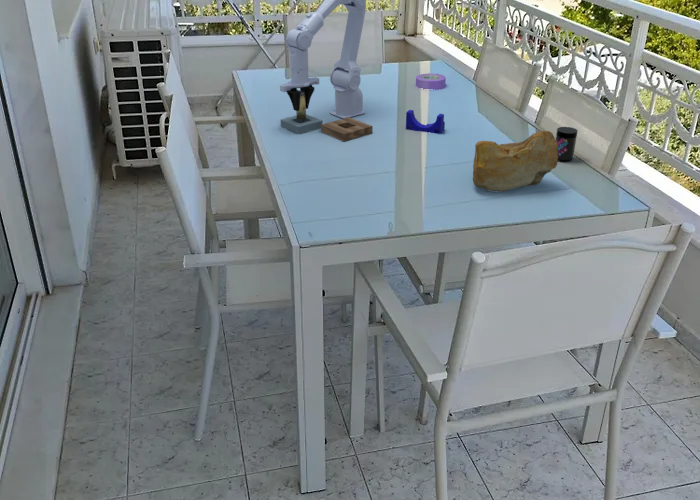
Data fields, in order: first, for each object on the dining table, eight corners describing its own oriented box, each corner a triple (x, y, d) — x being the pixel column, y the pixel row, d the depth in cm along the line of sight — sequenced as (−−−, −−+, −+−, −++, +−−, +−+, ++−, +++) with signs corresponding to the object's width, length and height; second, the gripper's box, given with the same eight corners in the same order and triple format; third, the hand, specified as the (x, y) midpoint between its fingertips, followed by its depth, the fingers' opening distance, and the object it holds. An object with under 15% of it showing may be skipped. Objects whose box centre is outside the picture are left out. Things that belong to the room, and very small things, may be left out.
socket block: (348, 124, 238) (348, 117, 237) (372, 133, 230) (372, 126, 229) (321, 132, 231) (320, 124, 230) (344, 141, 223) (344, 134, 222)
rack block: (304, 120, 242) (304, 113, 240) (322, 127, 235) (322, 120, 234) (280, 126, 236) (280, 119, 235) (298, 134, 229) (298, 126, 228)
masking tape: (412, 89, 276) (413, 79, 274) (418, 81, 286) (419, 72, 284) (442, 91, 273) (442, 81, 271) (447, 83, 283) (448, 74, 281)
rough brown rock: (535, 170, 204) (539, 119, 198) (561, 188, 189) (565, 134, 183) (458, 178, 201) (459, 127, 195) (478, 197, 186) (479, 142, 180)
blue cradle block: (444, 130, 233) (445, 112, 230) (440, 134, 229) (441, 116, 226) (410, 125, 237) (410, 108, 234) (405, 129, 234) (406, 112, 231)
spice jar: (302, 116, 236) (301, 89, 232) (308, 118, 234) (307, 91, 229) (294, 118, 234) (293, 91, 230) (300, 120, 232) (299, 93, 228)
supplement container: (551, 155, 212) (555, 126, 208) (571, 155, 212) (575, 127, 207) (554, 162, 207) (558, 132, 203) (574, 163, 207) (579, 133, 202)
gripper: (288, 74, 219) (290, 116, 226) (324, 66, 227) (325, 107, 234) (275, 70, 224) (277, 111, 230) (311, 62, 232) (312, 102, 239)
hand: (300, 109), depth 232 cm, fingers closed on spice jar, 3 cm apart
